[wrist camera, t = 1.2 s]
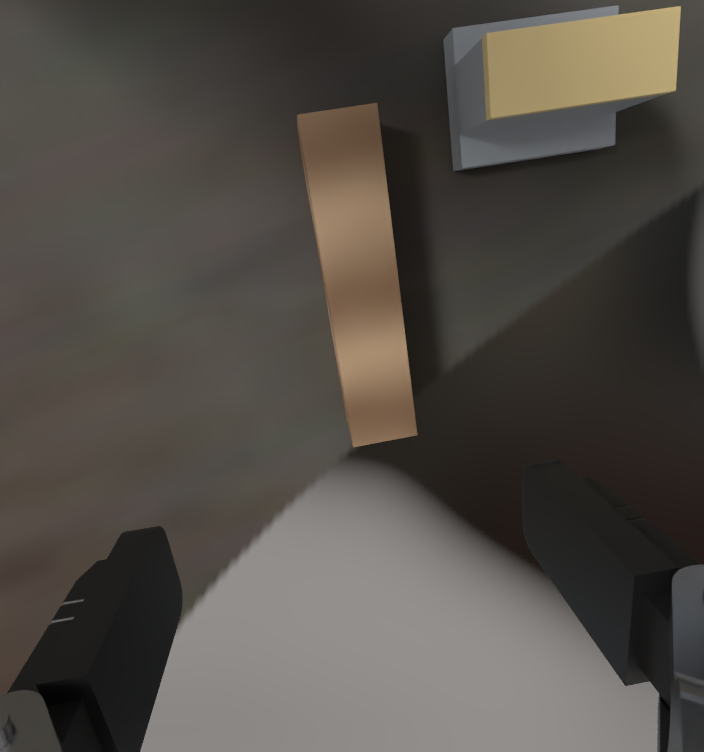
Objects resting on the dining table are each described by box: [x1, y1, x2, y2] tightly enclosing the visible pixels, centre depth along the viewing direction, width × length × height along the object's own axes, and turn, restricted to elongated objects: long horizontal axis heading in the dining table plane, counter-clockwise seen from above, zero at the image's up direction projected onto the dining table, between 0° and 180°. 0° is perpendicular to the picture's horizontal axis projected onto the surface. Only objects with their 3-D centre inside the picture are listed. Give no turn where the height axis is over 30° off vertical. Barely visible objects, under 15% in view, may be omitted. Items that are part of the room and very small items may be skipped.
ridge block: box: [443, 5, 681, 171], centre depth 22 cm, size 6×8×6 cm
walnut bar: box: [297, 103, 417, 447], centre depth 25 cm, size 16×4×4 cm, turn 9°
